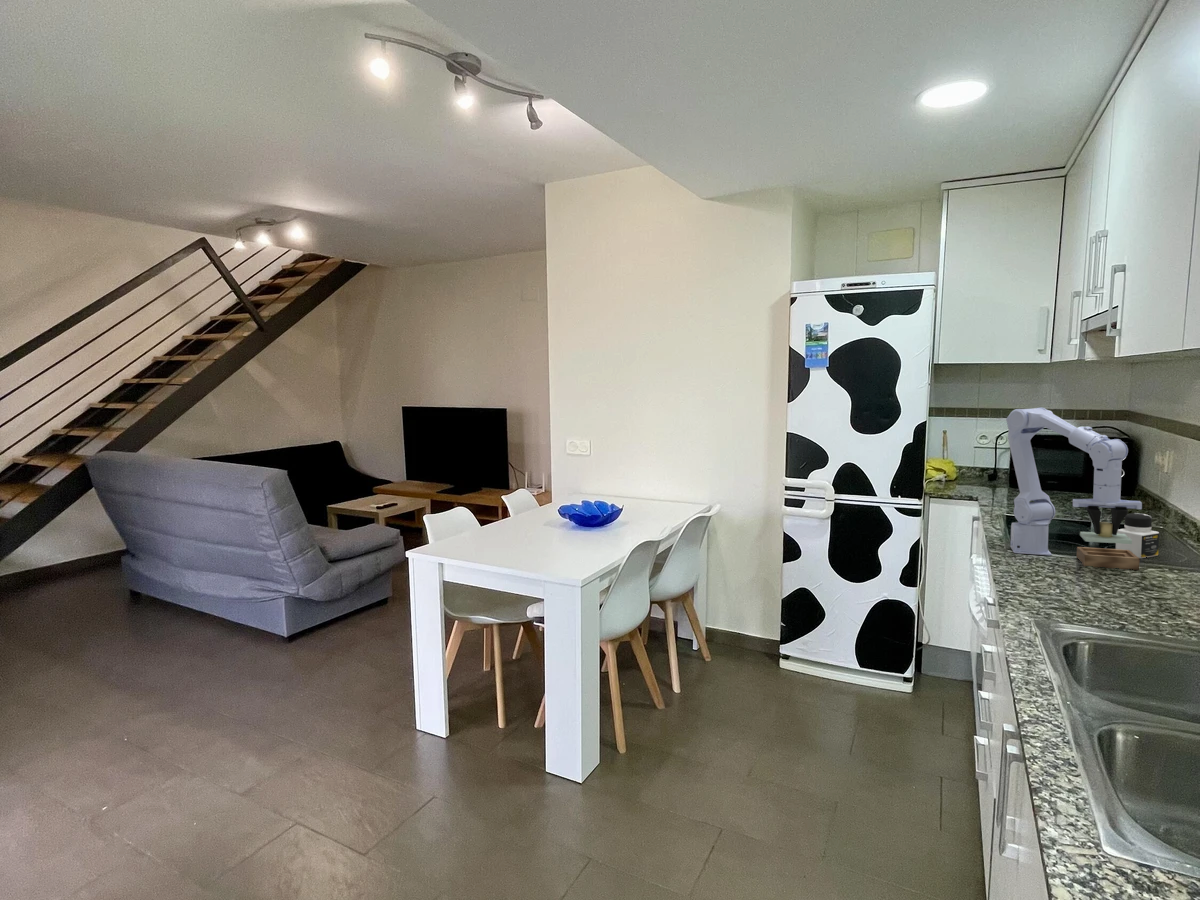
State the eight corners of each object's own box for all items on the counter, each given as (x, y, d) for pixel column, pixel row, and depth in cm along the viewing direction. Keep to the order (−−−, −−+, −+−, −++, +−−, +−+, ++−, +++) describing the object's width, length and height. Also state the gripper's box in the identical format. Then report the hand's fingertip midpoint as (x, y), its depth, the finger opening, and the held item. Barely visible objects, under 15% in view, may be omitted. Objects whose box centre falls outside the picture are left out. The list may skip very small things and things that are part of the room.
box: (1084, 566, 175) (1084, 555, 175) (1076, 557, 183) (1077, 546, 183) (1139, 570, 170) (1139, 558, 169) (1128, 561, 178) (1129, 549, 177)
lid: (1085, 541, 169) (1086, 525, 168) (1079, 535, 175) (1080, 519, 174) (1131, 544, 164) (1132, 527, 164) (1124, 537, 170) (1124, 521, 170)
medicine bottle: (1141, 558, 179) (1143, 518, 178) (1114, 552, 186) (1116, 513, 185) (1158, 555, 181) (1160, 515, 180) (1131, 549, 188) (1133, 511, 187)
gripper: (1077, 486, 167) (1076, 535, 169) (1146, 487, 161) (1144, 539, 162) (1071, 482, 173) (1069, 529, 175) (1137, 483, 167) (1135, 532, 169)
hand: (1105, 533), depth 169 cm, fingers closed on lid, 3 cm apart
